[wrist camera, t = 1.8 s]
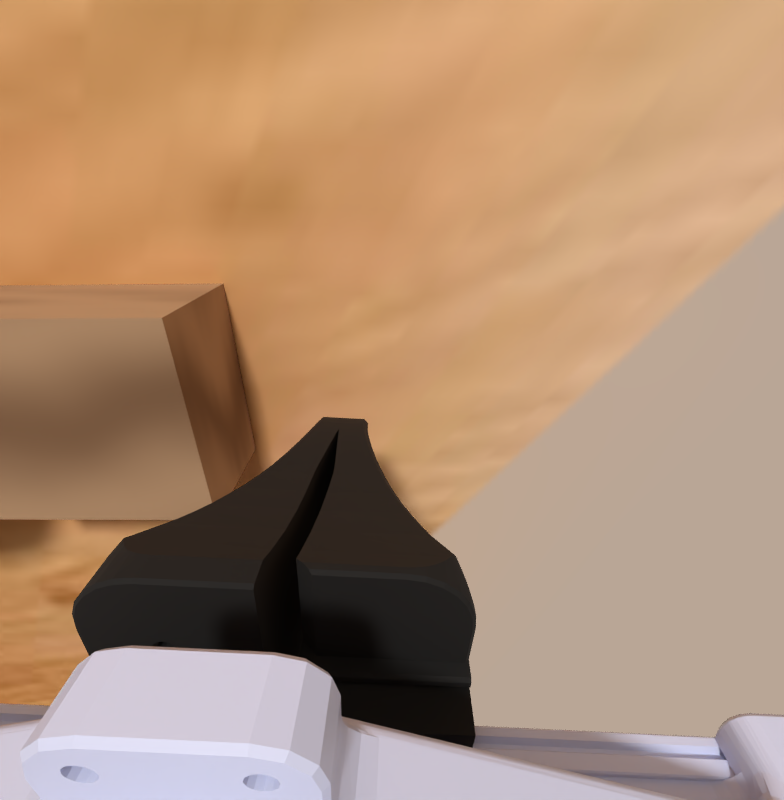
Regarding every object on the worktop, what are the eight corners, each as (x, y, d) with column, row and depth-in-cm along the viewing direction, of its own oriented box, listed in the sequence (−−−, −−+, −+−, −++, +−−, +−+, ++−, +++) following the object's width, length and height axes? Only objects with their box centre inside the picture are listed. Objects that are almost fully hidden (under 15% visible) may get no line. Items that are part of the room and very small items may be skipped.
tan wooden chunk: (257, 446, 18) (216, 520, 14) (42, 446, 18) (-58, 519, 14) (225, 281, 15) (161, 318, 11) (-35, 284, 15) (-191, 320, 11)
